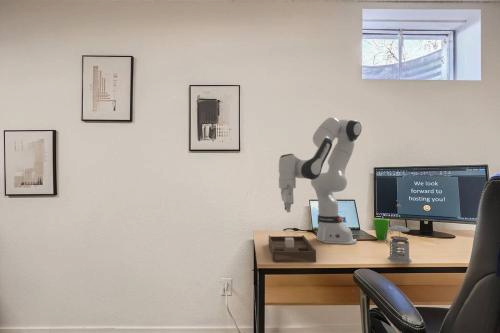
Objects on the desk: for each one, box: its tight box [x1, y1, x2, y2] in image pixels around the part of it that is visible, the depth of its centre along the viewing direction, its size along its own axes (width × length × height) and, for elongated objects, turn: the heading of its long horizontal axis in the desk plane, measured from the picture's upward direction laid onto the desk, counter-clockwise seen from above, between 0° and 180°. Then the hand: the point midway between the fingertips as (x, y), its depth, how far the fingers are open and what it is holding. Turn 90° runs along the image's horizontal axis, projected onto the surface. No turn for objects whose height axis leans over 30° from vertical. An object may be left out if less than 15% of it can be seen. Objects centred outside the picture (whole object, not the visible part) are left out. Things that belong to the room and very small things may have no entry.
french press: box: [384, 203, 413, 264], centre depth 131 cm, size 10×12×25 cm
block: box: [285, 238, 294, 248], centre depth 144 cm, size 4×4×4 cm
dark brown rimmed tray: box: [268, 235, 317, 263], centre depth 142 cm, size 30×19×5 cm, turn 0°
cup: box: [372, 218, 390, 241], centre depth 169 cm, size 9×9×11 cm
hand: (287, 211), depth 151 cm, fingers open, 6 cm apart
